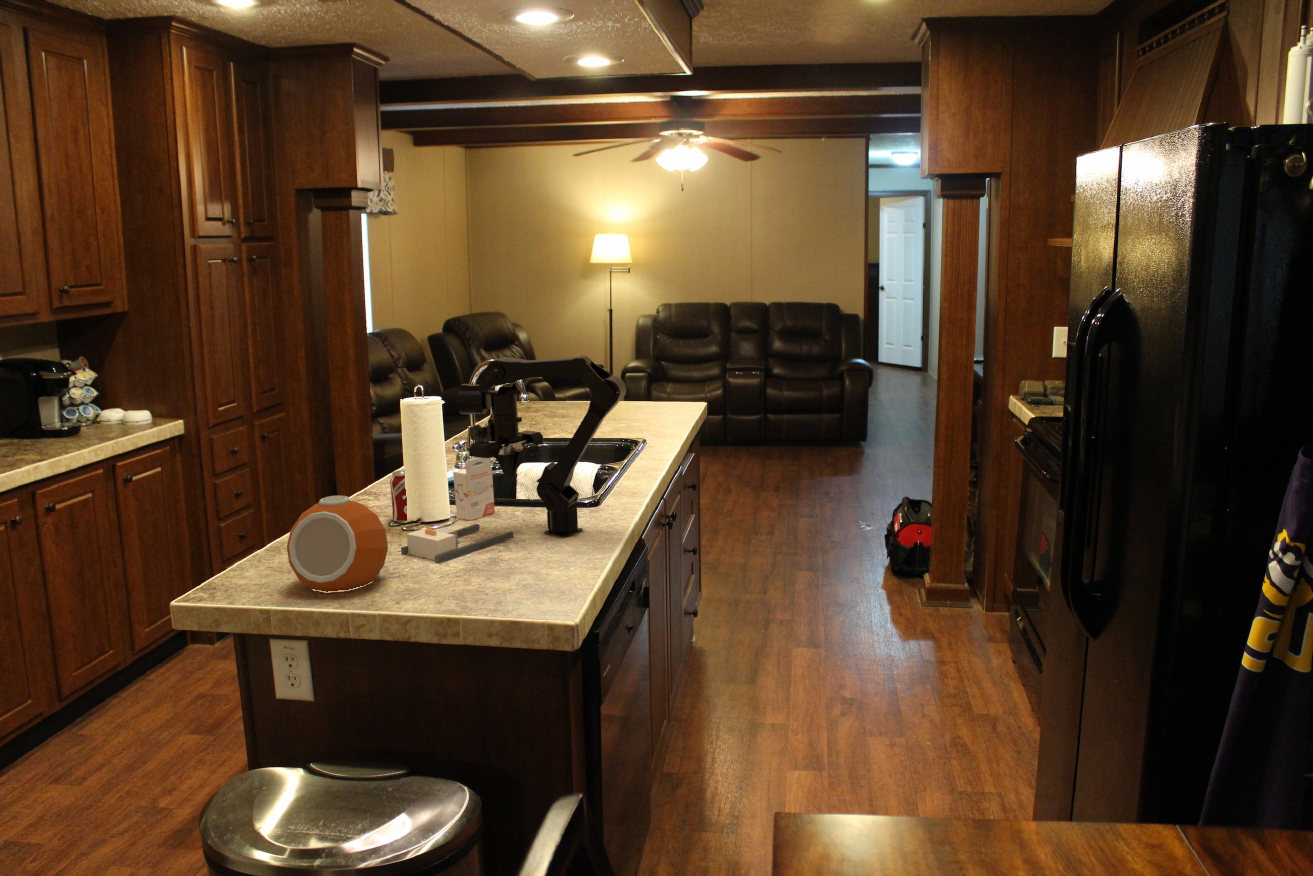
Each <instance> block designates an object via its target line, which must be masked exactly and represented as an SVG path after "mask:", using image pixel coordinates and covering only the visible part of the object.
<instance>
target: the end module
mask: <svg viewBox="0 0 1313 876" xmlns="http://www.w3.org/2000/svg"><path fill="white" fill-rule="evenodd" d="M406 543H407V546H408V553H409V554H408V555H410V554H413V555H412V556H414V555H417V556H416V557H419V556H420V557H419V558H423V557H425V558H424V559H426V560H431V561H435V556H436V555H439V554H442V553H445V552H448V551H451V550H454V549H457V548H456V538H455V535H453V534H448V533H444V532H439V531H436V530H435V529H431V528H421V529H419V530H415V531H412V532H409V533H406Z"/></svg>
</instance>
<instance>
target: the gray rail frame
mask: <svg viewBox="0 0 1313 876" xmlns="http://www.w3.org/2000/svg"><path fill="white" fill-rule="evenodd" d="M454 531H456V532H457V538H461V537H465V536H467V535H471V534H473V533H476V532H477V533H478V532H479V531H480V524H479V523H474V524H471V525H469V526H466V527H461V528H458V529H456V530H454ZM511 539H514V531H513V530H508V531H504V532H503V533H499V534H496V535H493V536H490V537H487V538H485V539H482V540H479V541H475V542H472V543H470V544H465V545H464V546H460V547H457V548H456V549H454V550H451V551H448V552H445V553H442V554H439V555H436V556H435V560H434V562H435V563H436V564H441V563H444V562H447V561H450V560H453V559H455V558H458V557H462V556H465V555H468V554H470V553H473V552H477V551H479V550H482V549H485V548H487V547H490V546H494V545H497V544H500V543H502V542H503V543H504V542H505V541H507V540H511ZM407 553H408V545H405V546H402V547H400V554H401V555H402V554H406V555H408V554H407Z"/></svg>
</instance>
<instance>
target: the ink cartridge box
mask: <svg viewBox="0 0 1313 876" xmlns="http://www.w3.org/2000/svg"><path fill="white" fill-rule="evenodd" d="M476 463H481V464H478V465H474V464H476ZM464 465H465V468H463V469H458V470H455V471H452V473H453V486H454V497H455V499H454V501H455V508H456V509H455V511H456V518H457V519H461V520H467V521H473V520H475V519H479V518H482V517H485V516H489V515H492V514H494V513H495V511H496V510H495V498H494V497H495V496H494V483H493V482H494V481H493V467H492V463H491V458H479V457H474V458H472V459H467V460H466V461H464Z"/></svg>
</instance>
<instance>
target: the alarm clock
mask: <svg viewBox="0 0 1313 876" xmlns="http://www.w3.org/2000/svg"><path fill="white" fill-rule="evenodd" d="M286 544H287V545H286V550H287V558H288V563H289V565H290V567H291V569H292V571H293V573H294V574H295V576H296V578H297V579H298V580H299V581H300V582H301V583H302V584H303V585H305V586H307V587H308V588H309V589H310V588H311V589H315V590H321V591H326V592H328V591H338V590H349V589H353V588H356V587H360V586H364V585H366V584H368V583H370V582H372V581H373V582H374V581H375V580H376V578H377V576H378V575H379V574H380V572H381V571H382V570H383V567H384V566H385V562H386V558H387V555H388V554H387V553H388V550H389V544H388V539H387V531H386V528H385V527H384V525H383V523H382V521H381V519H380V518H379V516H378V515H377V514H376V513H375V512H374V511H372V510H371V509H370V508H369V507H367V506H366V505H364V504H363V503H360V502H358V501H355V500H351V499H350V498H349V496H346V495H330V496H325V497H323V498H321V499H319V500H318V502H317V503H315V504H314V505H312V506H311V507H310V508H308V509H307V510H305V511H304V512H302V513H301V514H300V516H299V517H298V519H297V520H296V521H295V523H294V525H293V526H292V528H291V529H290V532H289V535H288V540H287V543H286ZM373 582H372V583H373ZM311 589H310V590H311Z"/></svg>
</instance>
